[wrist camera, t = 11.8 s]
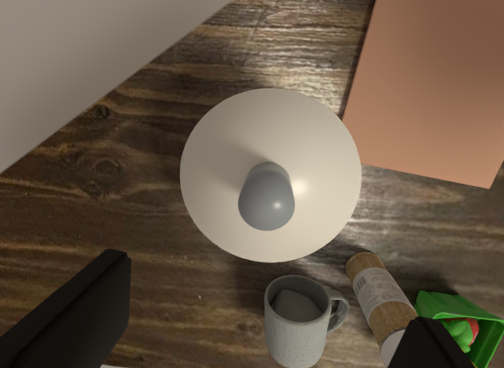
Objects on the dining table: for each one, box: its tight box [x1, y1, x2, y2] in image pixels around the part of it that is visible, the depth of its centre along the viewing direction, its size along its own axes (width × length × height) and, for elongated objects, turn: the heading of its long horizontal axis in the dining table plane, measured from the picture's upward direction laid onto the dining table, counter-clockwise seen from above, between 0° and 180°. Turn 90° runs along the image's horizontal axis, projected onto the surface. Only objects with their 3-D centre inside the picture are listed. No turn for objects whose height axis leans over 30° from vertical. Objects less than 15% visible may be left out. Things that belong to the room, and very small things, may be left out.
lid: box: [180, 88, 362, 262], centre depth 21 cm, size 16×16×6 cm
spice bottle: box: [345, 252, 418, 368], centre depth 26 cm, size 5×5×14 cm
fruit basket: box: [413, 291, 504, 368], centre depth 28 cm, size 11×9×11 cm
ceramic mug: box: [264, 275, 349, 368], centre depth 31 cm, size 11×8×8 cm
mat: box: [341, 0, 504, 189], centre depth 25 cm, size 17×17×1 cm
